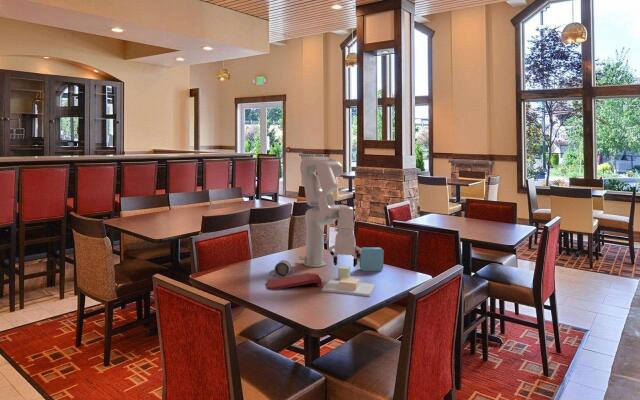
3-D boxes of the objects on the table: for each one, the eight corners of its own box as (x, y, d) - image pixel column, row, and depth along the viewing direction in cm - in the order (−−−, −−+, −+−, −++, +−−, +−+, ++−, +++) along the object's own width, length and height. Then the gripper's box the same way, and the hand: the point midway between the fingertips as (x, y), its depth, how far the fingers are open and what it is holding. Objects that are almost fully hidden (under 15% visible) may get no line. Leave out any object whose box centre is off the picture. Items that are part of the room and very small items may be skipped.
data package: (381, 268, 252) (382, 247, 251) (383, 271, 248) (384, 249, 246) (359, 268, 251) (360, 247, 249) (361, 271, 246) (361, 249, 245)
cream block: (337, 279, 229) (338, 268, 228) (340, 277, 234) (340, 265, 233) (347, 280, 228) (348, 269, 227) (349, 278, 232) (350, 266, 232)
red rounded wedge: (269, 298, 211) (323, 288, 215) (268, 287, 210) (321, 278, 215) (267, 290, 223) (318, 280, 227) (266, 280, 222) (316, 271, 226)
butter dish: (321, 291, 210) (322, 282, 210) (330, 281, 225) (330, 273, 225) (369, 296, 204) (369, 287, 204) (375, 286, 219) (375, 278, 219)
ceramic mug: (291, 273, 239) (291, 258, 238) (289, 277, 230) (289, 262, 230) (271, 272, 239) (270, 258, 238) (268, 277, 231) (268, 262, 230)
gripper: (326, 231, 227) (326, 265, 228) (361, 233, 222) (360, 268, 223) (330, 229, 234) (330, 262, 235) (364, 231, 229) (363, 265, 230)
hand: (345, 265), depth 229 cm, fingers open, 9 cm apart
